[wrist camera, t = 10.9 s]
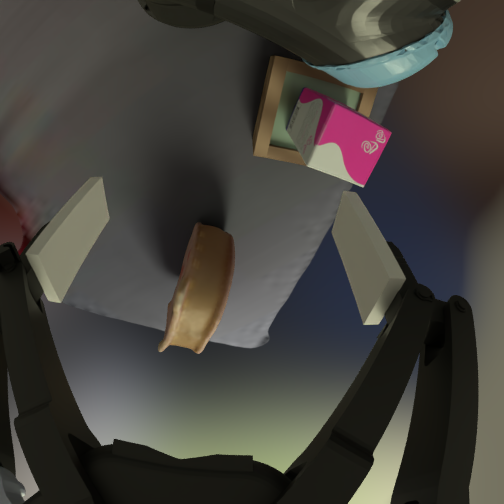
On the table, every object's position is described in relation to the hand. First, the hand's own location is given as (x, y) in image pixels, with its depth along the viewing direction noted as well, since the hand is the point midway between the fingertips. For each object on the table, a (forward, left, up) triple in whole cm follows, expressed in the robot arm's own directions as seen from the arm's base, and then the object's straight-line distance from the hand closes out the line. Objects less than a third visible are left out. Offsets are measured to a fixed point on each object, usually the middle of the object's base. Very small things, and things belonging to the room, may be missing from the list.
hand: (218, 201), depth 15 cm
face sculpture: (+26, -2, -26) cm, 36 cm away
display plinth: (-2, +9, -25) cm, 27 cm away
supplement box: (-2, +9, -19) cm, 22 cm away
